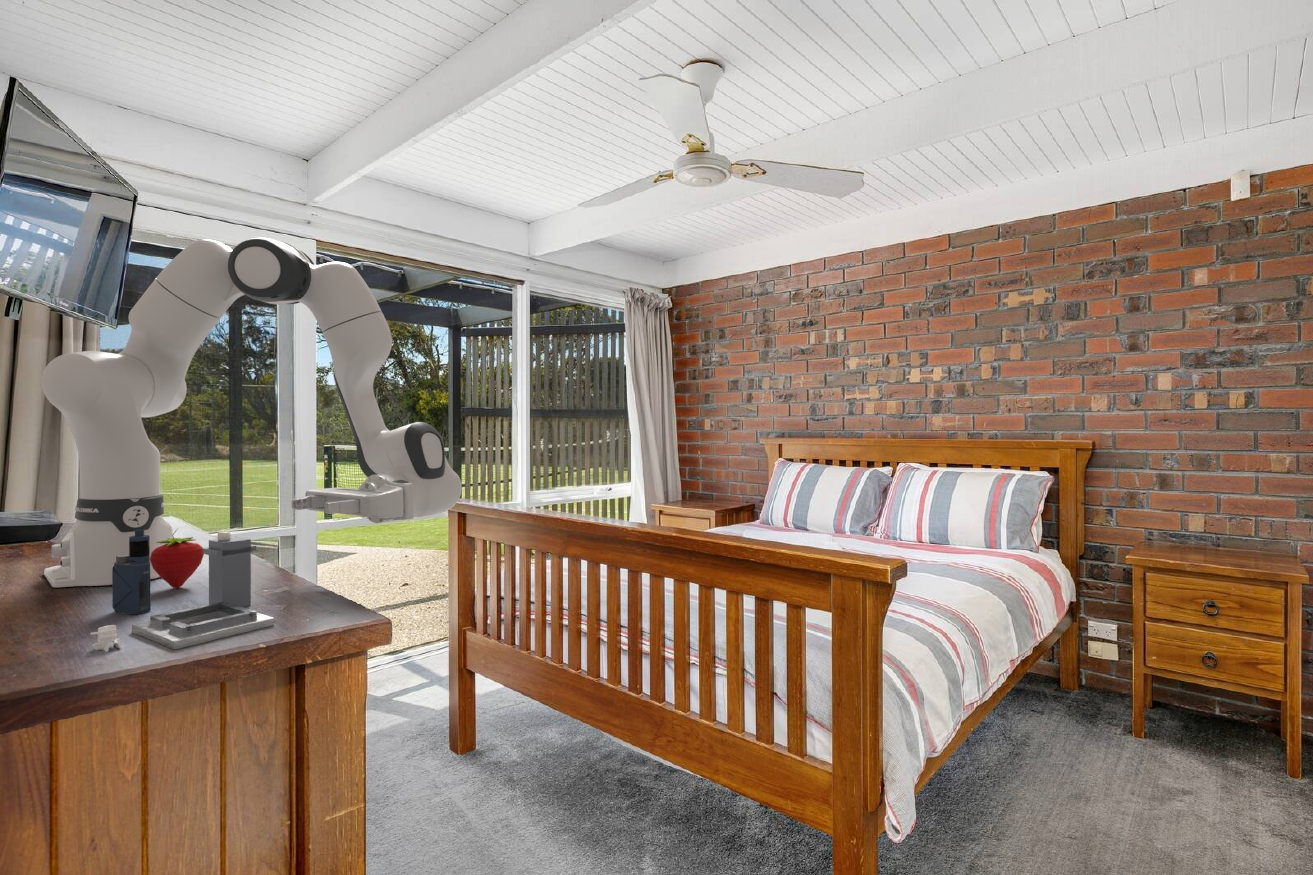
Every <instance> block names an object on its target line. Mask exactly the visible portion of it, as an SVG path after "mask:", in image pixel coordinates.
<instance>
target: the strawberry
mask: <svg viewBox="0 0 1313 875" xmlns="http://www.w3.org/2000/svg"><path fill="white" fill-rule="evenodd" d="M178 530H179V528H177V529H175V531H173V535H172V536H173V538H167V539H168V540H165V541H159V542H156V543H167V544H165V545H162V546H160V547H157V548H155V549H154V550H153V551H152V553H151V557H150V561H151V564H152V567H153V569H154V570H155V571H156V573H157V574H158V575H159V576H160V577H159V578H160V579H162V580H163V581H165V582H166V583H167V584H168V585H169V586H170V587H171V588H173V589H179V588H181V587H182V586H183V585H184V584H185V583H186V581H187V580H188V579H189V578H190V577H191V576H192V575H193V574H194V573H195V572H196V570H197V569H198V568H199V566H200V565H201V564H202V561H203V558H204V555H205V554H203V548H204V547H203V546H202V545H200V544H199V543H197V542H196V543H195V541H196V539H194V536H193V537H192V536H191V537H183V538H181V537H174V535H175V533H176V532H177V531H178Z"/></svg>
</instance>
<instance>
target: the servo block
mask: <svg viewBox="0 0 1313 875" xmlns="http://www.w3.org/2000/svg"><path fill="white" fill-rule="evenodd" d="M251 542H252V540H251V538H247V537H246V538H245V537H241V536H231V531H218V532H217V538H215V539H209V540H208V547H203V554H204V555H207V556H208V604H213V603H218V602H223V601H224V602H227V603H231V604H234V605H237V606H241V607H244V608H245V607H248V606H251V605H252V602H251V601H252V591H251V590H252V580H251V579H252V577H251V576H252V572H251V570H252V566H251V565H252V563H251V562H252V558H251V557H252V552H257V545H256V544H252V543H251Z"/></svg>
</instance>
